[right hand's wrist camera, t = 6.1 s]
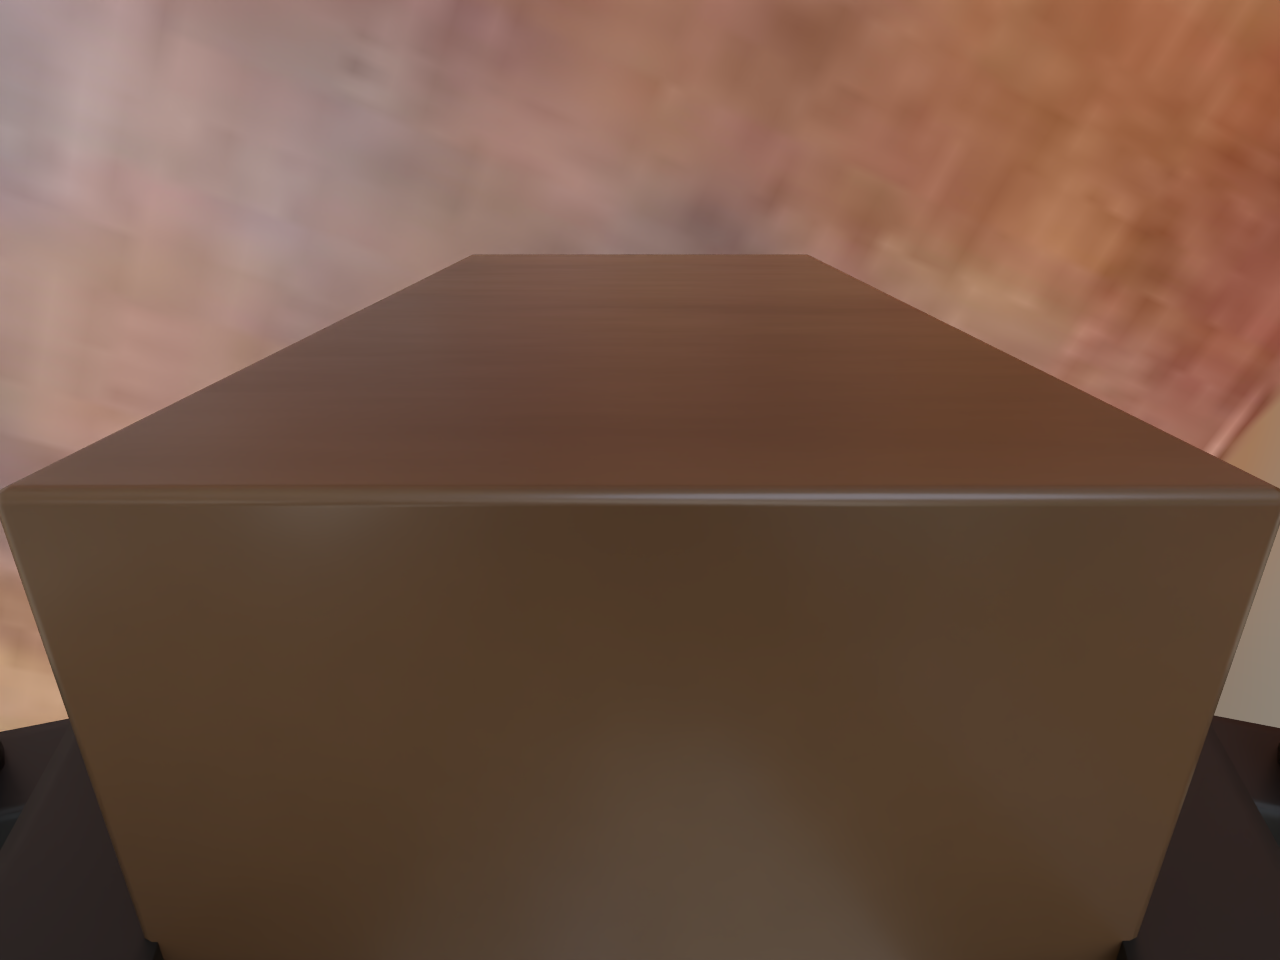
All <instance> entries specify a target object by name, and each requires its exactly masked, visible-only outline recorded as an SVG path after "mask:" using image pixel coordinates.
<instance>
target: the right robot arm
mask: <svg viewBox="0 0 1280 960" xmlns="http://www.w3.org/2000/svg"><path fill="white" fill-rule="evenodd" d="M0 960H164V959H163V956H162V953H161V950H160V947H159V944H158V942H151V941H149V940H147V939H145V937H144V934H143V931H142V928H141V926H140V923H139V920H138V917H137V914H136V911H135V908H134V905H133V902H132V900H131V897H130V894H129V891H128V888H127V885H126V882H125V879H124V876H123V873H122V871H121V868H120V865H119V862H118V859H117V856H116V853H115V850H114V847H113V844H112V842H111V839H110V836H109V833H108V830H107V827H106V824H105V821H104V818H103V816H102V813H101V810H100V807H99V804H98V801H97V798H96V795H95V792H94V789H93V787H92V784H91V781H90V778H89V775H88V772H87V769H86V766H85V763H84V760H83V758H82V755H81V752H80V749H79V746H78V743H77V740H76V737H75V734H74V732H73V729H72V726H71V723H70V720H69V719H65V720H60V721H55V722H49V723H44V724H39V725H34V726H29V727H24V728H18V729H13V730H8V731H3V732H0ZM1116 960H1280V728H1276V727H1271V726H1265V725H1260V724H1255V723H1249V722H1245V721H1239V720H1234V719H1229V718H1224V717H1218V716H1213V719H1212V722H1211V725H1210V727H1209V730H1208V733H1207V736H1206V739H1205V742H1204V745H1203V748H1202V751H1201V753H1200V756H1199V759H1198V762H1197V765H1196V768H1195V771H1194V774H1193V777H1192V779H1191V782H1190V785H1189V788H1188V791H1187V794H1186V797H1185V800H1184V803H1183V805H1182V808H1181V811H1180V814H1179V817H1178V820H1177V823H1176V826H1175V829H1174V831H1173V834H1172V837H1171V840H1170V843H1169V846H1168V849H1167V852H1166V855H1165V857H1164V860H1163V863H1162V866H1161V869H1160V872H1159V875H1158V878H1157V880H1156V883H1155V886H1154V889H1153V892H1152V895H1151V898H1150V901H1149V904H1148V906H1147V909H1146V912H1145V915H1144V918H1143V921H1142V924H1141V927H1140V930H1139V932H1138V935H1137V937H1136V938H1134V939H1132V940H1130V941H1122V944H1121V947H1120V950H1119V953H1118V956H1117V959H1116Z"/></svg>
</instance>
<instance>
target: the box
mask: <svg viewBox="0 0 1280 960" xmlns="http://www.w3.org/2000/svg"><path fill="white" fill-rule="evenodd" d="M0 520H1V523H2V526H3V529H4V532H5V535H6V537H7V540H8V543H9V546H10V549H11V552H12V555H13V558H14V561H15V564H16V566H17V569H18V572H19V575H20V578H21V581H22V584H23V587H24V590H25V593H26V595H27V598H28V601H29V604H30V607H31V610H32V613H33V616H34V619H35V621H36V624H37V627H38V630H39V633H40V636H41V639H42V642H43V645H44V648H45V650H46V653H47V656H48V659H49V662H50V665H51V668H52V671H53V674H54V677H55V679H56V682H57V685H58V688H59V691H60V694H61V697H62V700H63V703H64V705H65V708H66V711H67V714H68V717H69V720H70V723H71V726H72V729H73V732H74V734H75V737H76V740H77V743H78V746H79V749H80V752H81V755H82V758H83V760H84V763H85V766H86V769H87V772H88V775H89V778H90V781H91V784H92V787H93V789H94V792H95V795H96V798H97V801H98V804H99V807H100V810H101V813H102V816H103V818H104V821H105V824H106V827H107V830H108V833H109V836H110V839H111V842H112V844H113V847H114V850H115V853H116V856H117V859H118V862H119V865H120V868H121V871H122V873H123V876H124V879H125V882H126V885H127V888H128V891H129V894H130V897H131V900H132V902H133V905H134V908H135V911H136V914H137V917H138V920H139V923H140V926H141V928H142V931H143V934H144V937H145V939H147V940H149V941H151V942H158V944H159V947H160V950H161V953H162V956H163V959H164V960H1116V959H1117V956H1118V953H1119V950H1120V947H1121V944H1122V941H1130V940H1132V939H1134V938H1136V937H1137V935H1138V932H1139V930H1140V927H1141V924H1142V921H1143V918H1144V915H1145V912H1146V909H1147V906H1148V904H1149V901H1150V898H1151V895H1152V892H1153V889H1154V886H1155V883H1156V880H1157V878H1158V875H1159V872H1160V869H1161V866H1162V863H1163V860H1164V857H1165V855H1166V852H1167V849H1168V846H1169V843H1170V840H1171V837H1172V834H1173V831H1174V829H1175V826H1176V823H1177V820H1178V817H1179V814H1180V811H1181V808H1182V805H1183V803H1184V800H1185V797H1186V794H1187V791H1188V788H1189V785H1190V782H1191V779H1192V777H1193V774H1194V771H1195V768H1196V765H1197V762H1198V759H1199V756H1200V753H1201V751H1202V748H1203V745H1204V742H1205V739H1206V736H1207V733H1208V730H1209V727H1210V725H1211V722H1212V719H1213V716H1214V713H1215V710H1216V707H1217V704H1218V701H1219V698H1220V696H1221V693H1222V690H1223V687H1224V684H1225V681H1226V678H1227V675H1228V673H1229V669H1230V667H1231V664H1232V661H1233V658H1234V655H1235V652H1236V649H1237V647H1238V644H1239V641H1240V638H1241V635H1242V632H1243V629H1244V626H1245V623H1246V620H1247V617H1248V615H1249V612H1250V609H1251V606H1252V603H1253V600H1254V597H1255V595H1256V592H1257V589H1258V586H1259V583H1260V580H1261V577H1262V574H1263V571H1264V569H1265V566H1266V563H1267V560H1268V557H1269V554H1270V551H1271V548H1272V545H1273V542H1274V540H1275V537H1276V534H1277V531H1278V528H1279V525H1280V489H1279V488H1277V487H1275V486H1273V485H1271V484H1269V483H1267V482H1265V481H1263V480H1261V479H1259V478H1257V477H1255V476H1253V475H1251V474H1249V473H1247V472H1245V471H1243V470H1241V469H1239V468H1237V467H1235V466H1233V465H1231V464H1229V463H1227V462H1225V461H1223V460H1221V459H1219V458H1217V457H1215V456H1213V455H1211V454H1209V453H1207V452H1205V451H1203V450H1201V449H1198V448H1196V447H1194V446H1192V445H1190V444H1188V443H1186V442H1184V441H1182V440H1180V439H1178V438H1176V437H1174V436H1172V435H1170V434H1168V433H1166V432H1164V431H1162V430H1160V429H1158V428H1156V427H1154V426H1152V425H1150V424H1148V423H1146V422H1144V421H1142V420H1140V419H1138V418H1136V417H1134V416H1132V415H1130V414H1128V413H1126V412H1124V411H1122V410H1120V409H1118V408H1116V407H1114V406H1112V405H1110V404H1108V403H1106V402H1104V401H1102V400H1100V399H1098V398H1096V397H1094V396H1092V395H1090V394H1088V393H1086V392H1084V391H1082V390H1080V389H1078V388H1075V387H1073V386H1071V385H1069V384H1067V383H1065V382H1063V381H1061V380H1059V379H1057V378H1055V377H1053V376H1051V375H1049V374H1047V373H1045V372H1043V371H1041V370H1039V369H1037V368H1035V367H1033V366H1031V365H1029V364H1027V363H1025V362H1023V361H1021V360H1019V359H1017V358H1015V357H1013V356H1011V355H1009V354H1007V353H1005V352H1003V351H1001V350H999V349H997V348H995V347H993V346H991V345H989V344H987V343H985V342H983V341H981V340H979V339H977V338H975V337H973V336H971V335H969V334H967V333H965V332H963V331H961V330H959V329H957V328H955V327H952V326H950V325H948V324H946V323H944V322H942V321H940V320H938V319H936V318H934V317H932V316H930V315H928V314H926V313H924V312H922V311H920V310H918V309H916V308H914V307H912V306H910V305H908V304H906V303H904V302H902V301H900V300H898V299H896V298H894V297H892V296H890V295H888V294H886V293H884V292H882V291H880V290H878V289H876V288H874V287H872V286H870V285H868V284H866V283H864V282H862V281H860V280H858V279H856V278H854V277H852V276H850V275H848V274H846V273H844V272H842V271H840V270H838V269H836V268H834V267H832V266H829V265H827V264H825V263H823V262H821V261H819V260H817V259H815V258H813V257H811V256H809V255H471V256H469V257H467V258H465V259H463V260H461V261H459V262H457V263H455V264H453V265H451V266H449V267H447V268H445V269H443V270H441V271H439V272H437V273H435V274H433V275H431V276H429V277H427V278H425V279H423V280H421V281H419V282H417V283H415V284H413V285H411V286H409V287H407V288H405V289H403V290H401V291H399V292H397V293H395V294H393V295H391V296H389V297H387V298H385V299H383V300H381V301H379V302H377V303H375V304H373V305H371V306H369V307H367V308H364V309H362V310H360V311H358V312H356V313H354V314H352V315H350V316H348V317H346V318H344V319H342V320H340V321H338V322H336V323H334V324H332V325H330V326H328V327H326V328H324V329H322V330H320V331H318V332H316V333H314V334H312V335H310V336H308V337H306V338H304V339H302V340H300V341H298V342H296V343H294V344H292V345H290V346H288V347H286V348H284V349H282V350H280V351H278V352H276V353H274V354H272V355H270V356H268V357H266V358H264V359H262V360H260V361H258V362H256V363H254V364H252V365H250V366H248V367H246V368H244V369H242V370H240V371H238V372H236V373H234V374H232V375H230V376H228V377H226V378H224V379H222V380H220V381H218V382H216V383H214V384H212V385H210V386H208V387H206V388H204V389H202V390H200V391H198V392H196V393H194V394H192V395H190V396H188V397H186V398H184V399H182V400H180V401H178V402H176V403H174V404H172V405H170V406H168V407H166V408H164V409H162V410H159V411H157V412H155V413H153V414H151V415H149V416H147V417H145V418H143V419H141V420H139V421H137V422H135V423H133V424H131V425H129V426H127V427H125V428H123V429H121V430H119V431H117V432H115V433H113V434H111V435H109V436H107V437H105V438H103V439H101V440H99V441H97V442H95V443H93V444H91V445H89V446H87V447H85V448H83V449H81V450H79V451H77V452H75V453H73V454H71V455H69V456H67V457H65V458H63V459H61V460H59V461H57V462H55V463H53V464H51V465H49V466H47V467H45V468H43V469H41V470H39V471H37V472H35V473H33V474H31V475H29V476H27V477H25V478H23V479H21V480H19V481H17V482H15V483H13V484H11V485H9V486H7V487H5V488H3V489H1V490H0Z"/></svg>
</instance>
